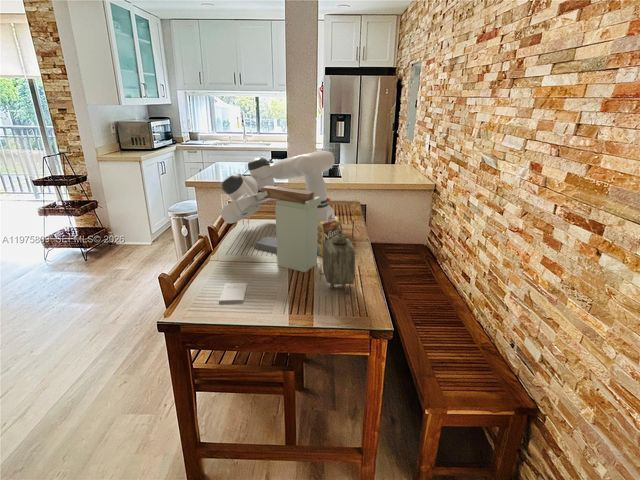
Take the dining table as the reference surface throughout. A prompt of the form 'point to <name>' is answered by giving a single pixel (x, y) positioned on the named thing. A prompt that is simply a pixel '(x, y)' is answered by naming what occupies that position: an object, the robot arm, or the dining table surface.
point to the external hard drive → (233, 293)
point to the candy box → (326, 232)
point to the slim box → (287, 194)
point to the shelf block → (297, 234)
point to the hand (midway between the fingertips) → (271, 191)
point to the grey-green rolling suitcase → (339, 260)
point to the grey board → (267, 244)
